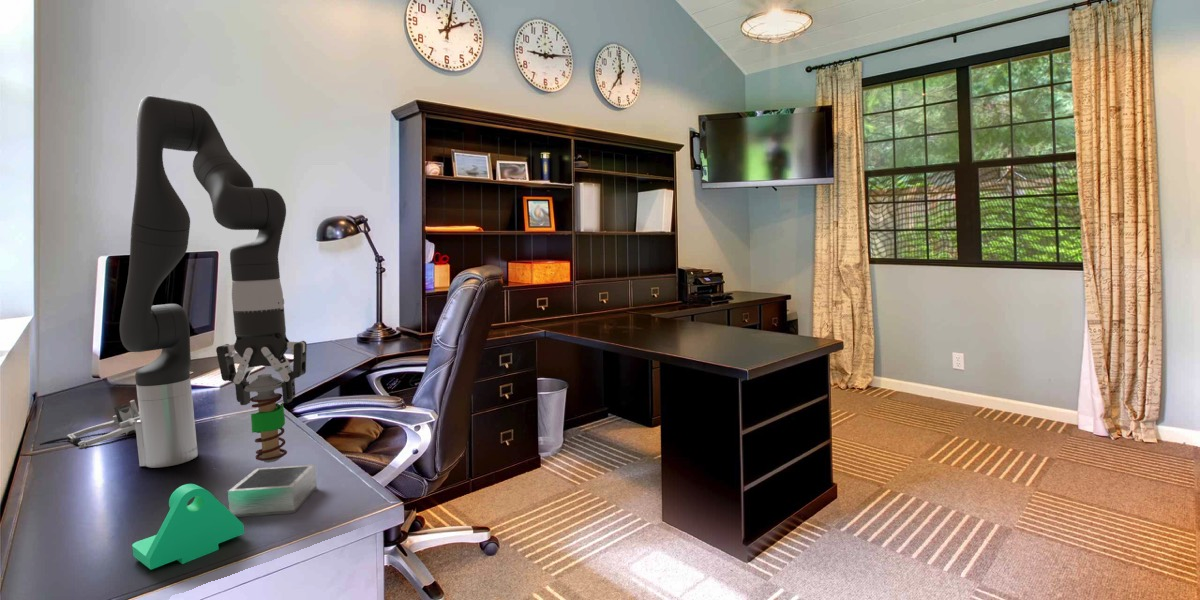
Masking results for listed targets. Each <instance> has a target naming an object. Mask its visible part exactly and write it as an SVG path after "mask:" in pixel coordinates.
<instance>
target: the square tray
mask: <svg viewBox="0 0 1200 600" xmlns="http://www.w3.org/2000/svg"><path fill="white" fill-rule="evenodd" d="M316 473H317V471H316V464H304V465H303V464H302V465H290V466H285V465H284V466H274V467H258V468H257V467H256V468H255V469H254V470H253V471H252V472H250V473H249V474H248V475H246V476H245V477H244V478H243V479H241V480H239V482H238V483H236V484H235V485H234V486H232V487H231V488H230V489H228V490H227V498H228V500H227V501H228V510H229V511H230V512H231V513H232V514H233V515H234V516H235V517H236V518H245V517H257V516H270V515H272V516H273V515H285V514H287V515H288V514H295V513H296V512H297V511H298V510H299V509H300V507H302V505H303V504H305V502H306V501H307V500H308V498H310V496H312V494H313V493H314V492H315V491H316V490H317V489H318V485H317V484H318V483H317V474H316Z"/></svg>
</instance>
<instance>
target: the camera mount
mask: <svg viewBox="0 0 1200 600" xmlns="http://www.w3.org/2000/svg"><path fill="white" fill-rule="evenodd" d="M193 498H194V499H193ZM192 499H193V501H192V502H191V503H190V504H189V505H188V503H189V502H190V500H192ZM168 506H169V511H168V513H167V515H165V516H166V517H164V520H163V522H162V524H161V526H160V527H159V529H158V532H157V533H156V534H154V535H152V536H149V537H146V538H143V539H141V540H137V541H135V542H133V543H132V544H131V548H132V555H133V557H134V558H135V559H137V560H138V561H139V562H140V563H141V564H142V565H144V566H145V567H147V568H148V569H149V570H153V569H154V570H155V569H157V568H159V567H162V566H164V565H167V564H169V563H172V562H175V561H177V562H179V563H180V564H182V565H184V564H186V563H188V562H191V561H193V560H196V559H199V558H201V557H204V556H206V555H209V554H211V553H214V552H216V551H219V549H220V547H219V545H220V544H221V543H225V542H226V541H229V540H232V539H234V538H236V537H239V536H241V535H245V527H244V523H243V522H242V521H241V520H239V517H235V516H234V515H233V514H232V513H231V512H230V511H229V508H227V507H226V506H225V505H224V504H223V503H221V502H220V500H218V498H217V497H216V496H214V494H212V493H211V492H210V491H209V490H207V489H205V488H204V487H201V486H200V485H197V484H194V483H185V484H183V485H180V486H179V487H177V488H176V489H175V490H174V491H173V492H172V493H171V495H170V497H169V499H168Z"/></svg>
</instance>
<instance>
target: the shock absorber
mask: <svg viewBox="0 0 1200 600" xmlns="http://www.w3.org/2000/svg"><path fill="white" fill-rule="evenodd" d="M282 382H283V380H281V379H279V378H276V377H274V376H272V374H271V373H263V374H262V373H261V374H259V375H257V378H256V379H254V380H253V381H252V382H249V385H247V386H246V387H245V388H244V390H245V391H248V392H250V393H257V395H254V396H251V397H250V402H252V403H255V404H252V405H251V408H254V409H255V408H257V409H258V412H256V413H255V412H254V413H251V414H250V421H251V422H250V423H251V433H257V434H260V437H258V438H255V439H254V442H255V443H261V449H258V450H255V454H256V455H255V460H257V461H262V462H264V463H273V462H274V463H275V462H276V461H279V460H280V459H281V458H283V457H284V456H286V455H287V454H288V450H286V449H284V448H282V447H284V446H285V444H286V439H284V438H283V437H281V436H282V435H283V434H284V433H285V428H284V426H285V424H286V418H285V417H286V416H285V407H284V402H281V404H279V403H277V402H279V401H280V400H281V399H282V398H283V393H279V392H278V393H277V392H275V391H276V390H277V389H282ZM279 430H280V432H279ZM279 441H280V442H281V444H280V442H279Z"/></svg>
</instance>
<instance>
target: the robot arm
mask: <svg viewBox="0 0 1200 600" xmlns="http://www.w3.org/2000/svg"><path fill="white" fill-rule="evenodd" d="M135 127H136V133H135V134H136V180H135V191H134V200H133V209H132V216H131V217H132V218H131V227H130V242H129V243H130V247H129V250H130V251H129V262H128V263H129V265H128V273H127V274H128V275H127V281H126V282H127V283H126V287H125V292H124V297H123V303H122V307H121V313H120V319H119V336H120V341H121V343H122V345H123V347H124V348H125V349H126V350H127V351H129V352H132V353H143V352H149V351H156V350H161V352H160V354H159V356H158V357H157V358H155V359H154V360H153V361H151V362H150V363H148V364H147V365H145V366H142V367H141V368H139V369H138V370H136V372H135V386H136V397H137V403H138V412H139V415H140V420H138V421H136V422H135V427H136V432H135V434H136V444H137V453H138V461H139V462H138V463H139V467H147V468H151V469H152V468H154V469H155V468H166V467H167V468H168V467H171V466H177V465H180V464H185V463H187V462H190V461H191V460H193V459H196V458H197V457H198V455H199V454H198V443H197V432H196V421H195V412H194V401H193V393H192V392H193V391H192V384H191V383H192V382H191V372H190V371H191V365H192V362H191V361H192V359H191V357H192V355H191V333H190V332H191V331H190V329H191V328H190V321H189V317H188V315H187V311H185V309H184V308H183V307H182V306H181V305H179V304H177V303H165V304H156V305H154V304H153V303H154V298H155V295H156V293H157V290H158V289H159V287H160V286H161V284H162V283H163V281H164V280H165V279H166V278H167V276H169V275H170V274H171V272H172V271H173V270H174V269H175V268H176V266H177V265H178V264H179V263H180V261H181V260H182V259H183V257H184V256H185V255H186V252H187V250H188V246H189V238H190V230H191V229H190V227H191V217H190V213H189V212H188V209H187V208H186V207H187V206H185V204H184V203H183V201H182V199H181V198H180V196H179V194H178V193H177V191H176V190H175V188H174V186H173V185H172V184H171V181H170V180H169V178H168V175H167V173H166V171H165V167H164V166H165V165H164V161H163V160H164V158H163V156H164V155H163V153H164V152H163V151H164V149H165V150H173V151H174V150H175V151H182V152H195V153H196V154H195V156H194V157H193V158H194V159H193V160H192V169H193V170H192V171H193V174H194V176H195V178H196V180H197V181H198V182H199V183H200V185H201V186H202V188H203V189H204V190H205V191H206V192H207V193H208V195H209V198H210V201H211V202H210V203H211V205H212V206H211V207H212V213H213V216H214V219H215V222H217V224H219V225H220V226H221V227H224V228H225V229H227V230H228V229H229V230H232V231H233V230H234V231H256V230H257V231H258V233H257V236H256V238H255V239H254V240H253V241H252V242H249V243H245V244H244V243H243V244H240V245H235V246H233V247H232V248H231V249H230V253H229V262H230V270H231V272H230V273H231V280H232V282H231V283H232V284H231V285H232V287H231V301H232V304H231V305H232V314H233V323H234V324H233V325H234V335H235V337H236V340H235V343H233V344H229V343H225V344H222V345H220V346H217V347H216V348H215V351H216V357H217V361H218V366H219V370H220V374H221V376H220V377H221V379H222V380H223V381H224V382H227V381H228V382H232V383H233V384H234V385H235V387H234V388H235V395H236V401H237V402H238V403H239V404H240V406H247V405H249V404H250V403H251V401H250V399H251V392H248V391H245V390H244V388H245V387H246V386H247V385H249V384H250V381H247V380H248V378H249V377H250V374H251V372H252V371H253V369H254V368H256V367H261V366H264V367H272V369H274V371H275V372H277V373H278V375H279V377H281V379H282V381H283V382H282V387H281V391H282V393H281V394H282V403H283V404H289V403H291V402H292V401H293V399H294V398H295V397H296V384H295V381H296V380H295V379H296V378H297V379H298V378H299V377H301V376H303V375H305V374H306V372H307V351H308V350H307V348H308V347H307V344H308V343H307V341H305V340H301V341H290V340H289V339H288V338H287V334H286V333H287V332H286V330H287V329H286V316H285V299H284V293H283V288H282V283H281V275H280V274H281V273H280V265H279V252H280V251H279V250H280V244H281V240H282V234H283V231H284V226H285V222H286V216H287V206H286V203H285V199H284V198H283V196H282V195H281V193H279V191H277V190H275V189H273V188H269V187H268V188H266V187H254V183H253V182H254V181H253V179H252V177H251V175H249V173H248V172H247V171H246V170H245V168H243V166H241V164H240V163H239V162H238V161H237V159H235V158H234V155H232V154H231V152H230V150H229V149H228V147H227V145H226V144H225V141H224V139H223V137H222V135H221V133H220V131H219V129H218V127H217V125H216V123H215V122H214V120H213V118H212V116H211V115H210V113H209V112H208V111H207V110H206V109H205V108H204V107H202V106H201V105H198V104H196V103H192V102H189V101H183V100H182V101H181V100H176V99H171V98H166V97H161V96H154V95H145V96H144V97H142V99H141V101H139V104H138V108H137V115H136V126H135ZM288 350H290V353H291V354H292V355H293V365H292V367H291V365H290V364H291V363H290V361H289V360H288V358H287V357H286V356H285V353H287V351H288ZM236 353H237V354H238V355H239V357H240V358H241V360H240V362H239V364H238V367H237V370H236V365H235V361H234V357H235V354H236Z"/></svg>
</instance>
